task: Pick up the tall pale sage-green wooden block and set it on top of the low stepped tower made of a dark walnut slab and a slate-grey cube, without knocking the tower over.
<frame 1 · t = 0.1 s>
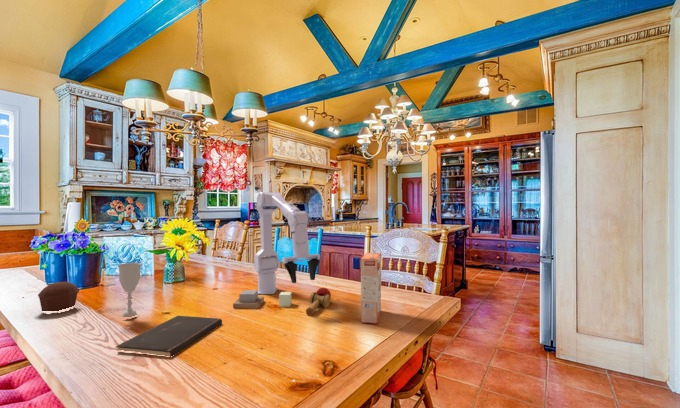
hand: (303, 281, 114), 10 cm above the table, tool pointing down, fingers open, 7 cm apart
sage block: (285, 305, 120), on the table
kendama: (318, 308, 116), on the table
hardcover book: (174, 339, 90), on the table
walnut slab: (249, 306, 120), on the table, touching slate cube
chalice: (129, 318, 106), on the table
cracker box: (371, 317, 107), on the table
muffin: (59, 311, 114), on the table
slate cube: (248, 300, 120), point 2 cm above the table, touching walnut slab
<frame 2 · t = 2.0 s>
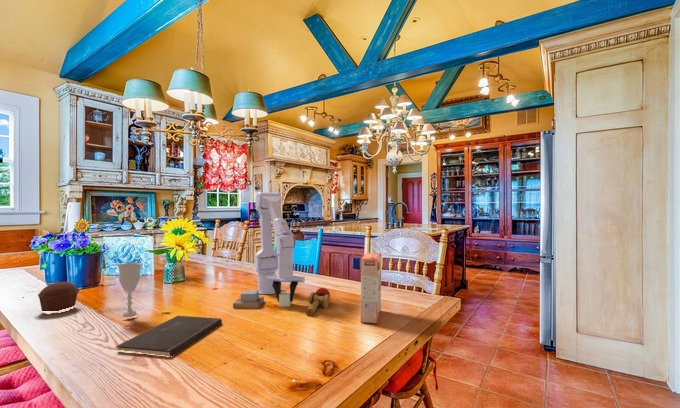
hand: (285, 301, 120), 1 cm above the table, tool pointing down, fingers closed on sage block, 4 cm apart
sage block: (285, 304, 120), on the table, touching gripper
everything else where it was.
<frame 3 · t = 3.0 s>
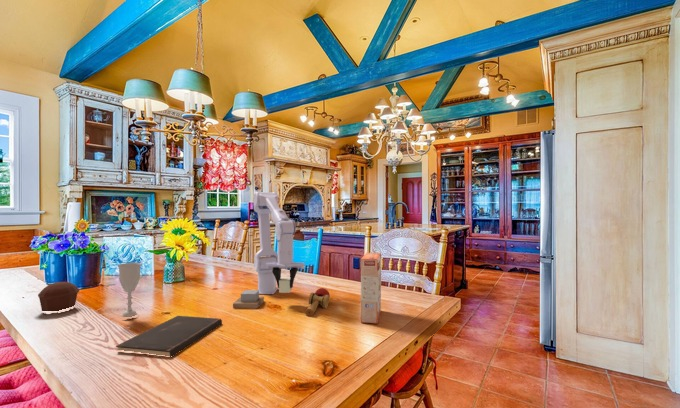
hand: (285, 287, 120), 7 cm above the table, tool pointing down, fingers closed on sage block, 4 cm apart
sage block: (285, 291, 120), point 5 cm above the table, touching gripper
everything else where it was.
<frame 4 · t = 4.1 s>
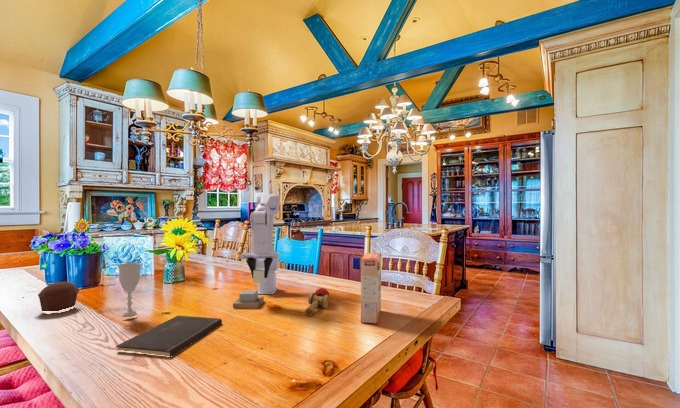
hand: (259, 277, 120), 10 cm above the table, tool pointing down, fingers closed on sage block, 4 cm apart
sage block: (260, 281, 120), point 9 cm above the table, touching gripper
everything else where it was.
when the fingers open (8 cm above the table, at t = 5.7 s): sage block drops 2 cm, point 5 cm above the table.
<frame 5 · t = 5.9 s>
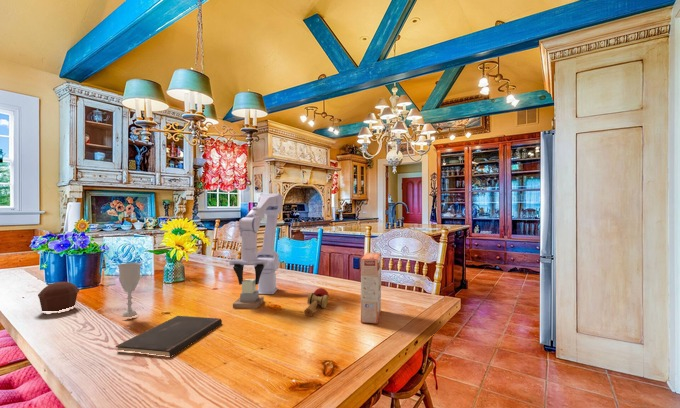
hand: (249, 284, 120), 8 cm above the table, tool pointing down, fingers open, 6 cm apart
sage block: (249, 292, 120), point 5 cm above the table
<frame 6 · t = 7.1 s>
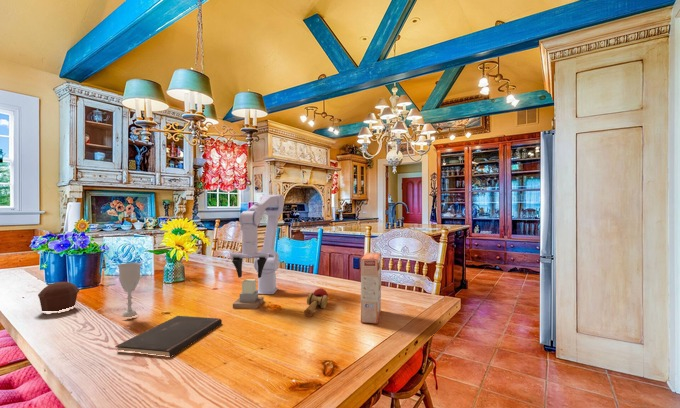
hand: (249, 277, 121), 10 cm above the table, tool pointing down, fingers open, 7 cm apart
sage block: (249, 292, 120), point 5 cm above the table, touching slate cube
slate cube: (249, 299, 120), point 2 cm above the table, touching sage block, walnut slab
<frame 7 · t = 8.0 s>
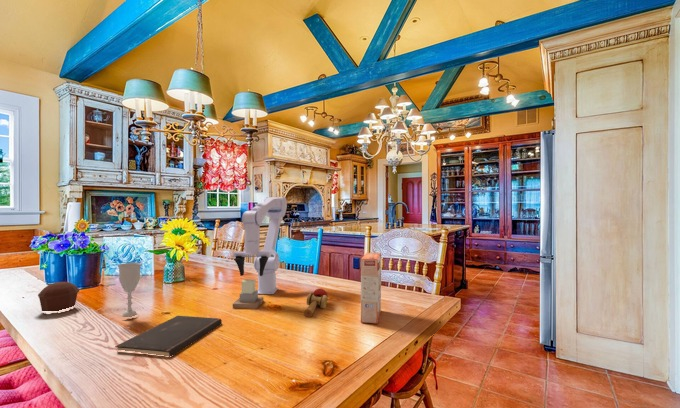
hand: (251, 275, 124), 10 cm above the table, tool pointing down, fingers open, 7 cm apart
sage block: (248, 292, 120), point 5 cm above the table
slate cube: (248, 299, 120), point 2 cm above the table, touching walnut slab
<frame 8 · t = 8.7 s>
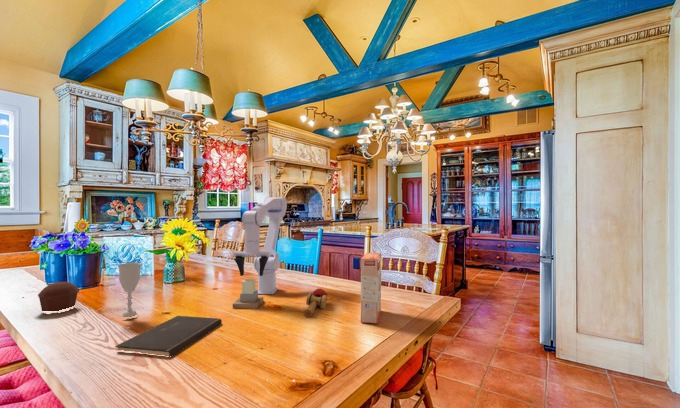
hand: (251, 275, 124), 10 cm above the table, tool pointing down, fingers open, 7 cm apart
at the end: sage block 0.7 cm off-centre on the slate cube, point 3.0 cm above the slate cube's base; slate cube 0.5 cm off-centre on the walnut slab, point 2.5 cm above the walnut slab's base; the gripper is holding nothing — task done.
